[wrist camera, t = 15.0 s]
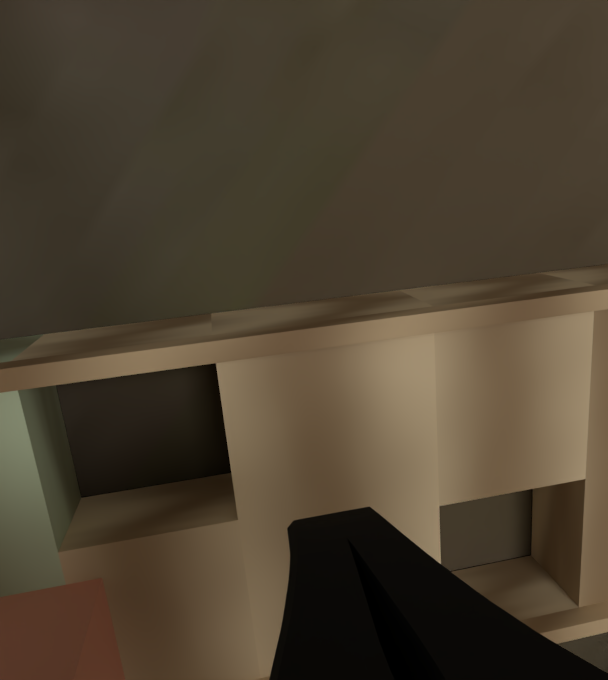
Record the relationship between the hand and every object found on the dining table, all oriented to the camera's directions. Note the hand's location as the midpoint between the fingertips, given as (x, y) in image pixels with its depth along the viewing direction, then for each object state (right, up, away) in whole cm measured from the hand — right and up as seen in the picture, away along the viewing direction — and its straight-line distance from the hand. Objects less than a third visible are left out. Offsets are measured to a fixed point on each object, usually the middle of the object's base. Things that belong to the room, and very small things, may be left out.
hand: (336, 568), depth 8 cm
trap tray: (0, -1, +11) cm, 11 cm away
